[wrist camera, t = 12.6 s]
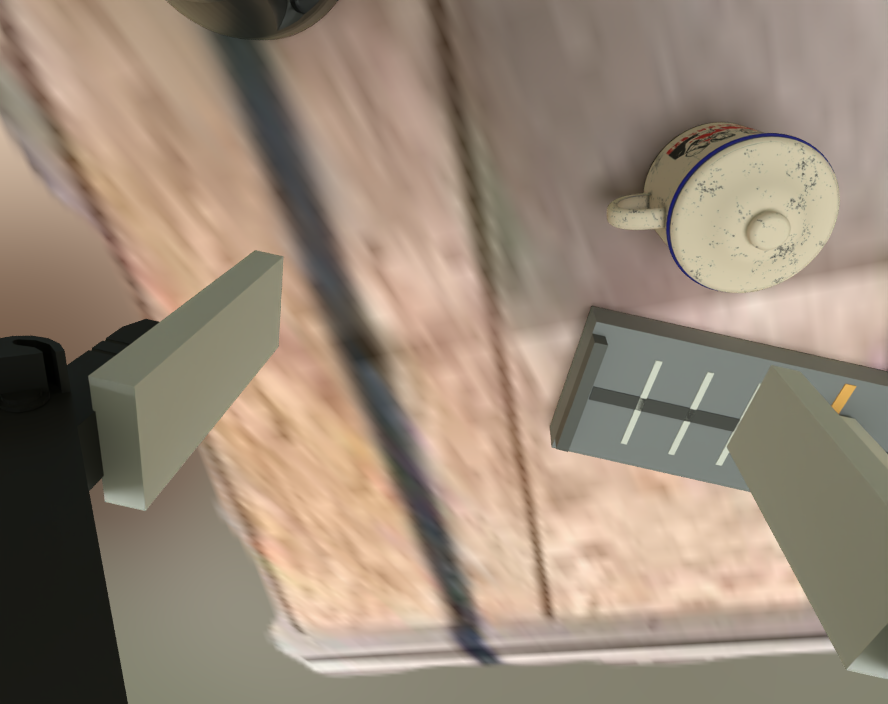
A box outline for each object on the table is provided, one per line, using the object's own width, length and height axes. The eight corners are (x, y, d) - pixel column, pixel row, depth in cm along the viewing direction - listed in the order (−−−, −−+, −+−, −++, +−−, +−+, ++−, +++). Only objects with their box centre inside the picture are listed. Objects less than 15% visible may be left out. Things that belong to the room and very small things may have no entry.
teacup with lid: (786, 110, 37) (889, 131, 27) (766, 245, 41) (849, 308, 31) (597, 130, 39) (626, 157, 29) (596, 257, 43) (622, 321, 33)
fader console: (591, 305, 45) (599, 330, 41) (927, 380, 44) (967, 412, 41) (549, 426, 50) (552, 458, 46) (847, 493, 50) (875, 531, 46)
